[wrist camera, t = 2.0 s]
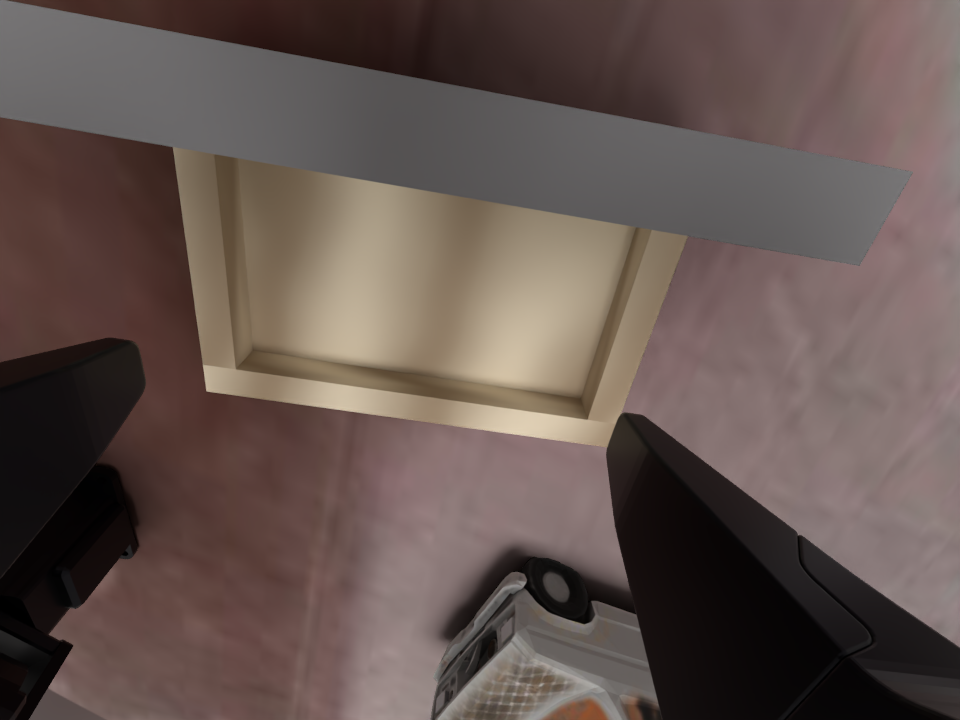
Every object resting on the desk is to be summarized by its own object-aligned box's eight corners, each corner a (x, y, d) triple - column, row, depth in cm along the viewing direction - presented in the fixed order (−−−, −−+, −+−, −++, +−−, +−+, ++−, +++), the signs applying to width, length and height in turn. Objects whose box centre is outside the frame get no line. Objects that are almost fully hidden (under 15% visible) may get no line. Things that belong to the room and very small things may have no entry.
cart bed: (241, 354, 21) (206, 391, 18) (218, 98, 16) (166, 100, 14) (593, 405, 22) (607, 447, 20) (670, 180, 17) (702, 196, 15)
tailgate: (194, 95, 15) (-97, 100, 7) (187, 34, 14) (-146, -29, 7) (686, 185, 16) (859, 265, 9) (704, 132, 15) (913, 171, 8)
